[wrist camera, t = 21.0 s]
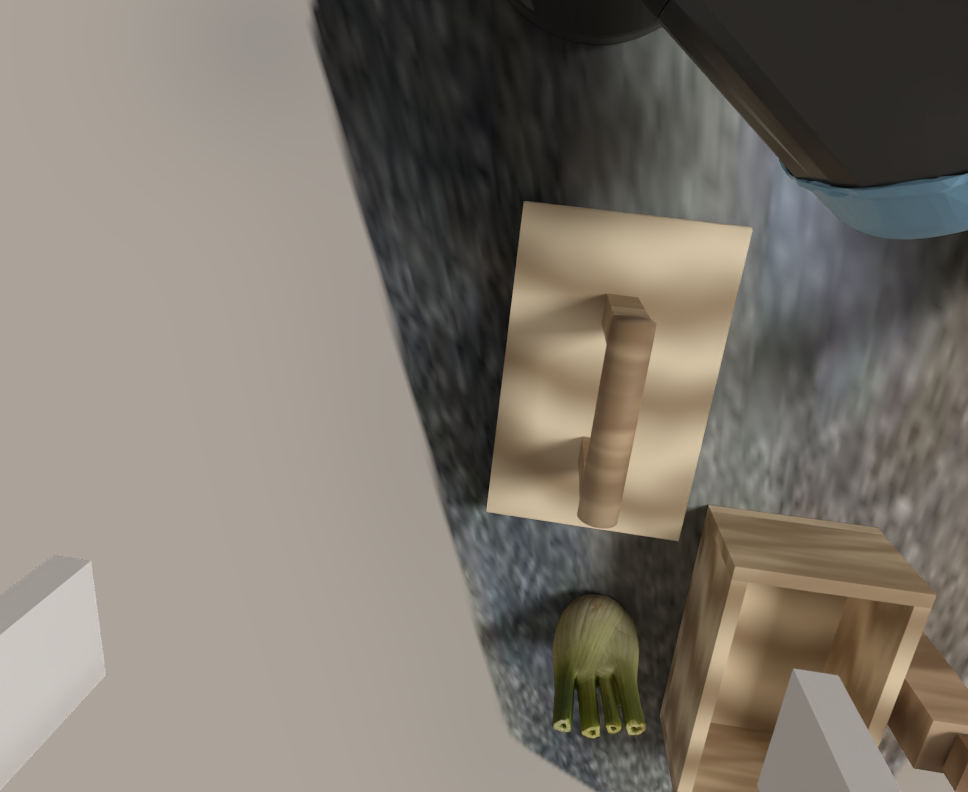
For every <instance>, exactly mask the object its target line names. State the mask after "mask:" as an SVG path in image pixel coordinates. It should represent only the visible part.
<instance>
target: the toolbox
mask: <svg viewBox="0 0 968 792" xmlns="http://www.w3.org/2000/svg"><path fill="white" fill-rule="evenodd" d="M936 596H937V595H936V594H935V593H934V591H933V590H932V589H931V588H930V587H929V586H928V585H927V584H926V582H925V581H924V580H923V579H922V578H921V577H920V576H919V575H918V573H917V572H916V571H915V570H914V569H913V568H912V567H911V565H910V564H909V563H908V562H907V561H906V560H905V559H904V558H903V556H902V555H901V554H900V553H899V552H898V551H897V550H896V548H895V547H894V546H893V545H892V544H891V543H890V542H889V541H888V539H887V538H886V537H885V536H884V535H883V534H882V533H881V531H880V530H879V529H878V528H876V527H868V526H861V525H854V524H846V523H839V522H831V521H824V520H817V519H809V518H802V517H794V516H787V515H779V514H772V513H765V512H757V511H750V510H742V509H735V508H728V507H720V506H713V505H708V509H707V513H706V518H705V522H704V526H703V531H702V535H701V539H700V543H699V548H698V552H697V556H696V561H695V565H694V569H693V574H692V578H691V582H690V586H689V591H688V595H687V599H686V604H685V608H684V612H683V617H682V621H681V625H680V629H679V634H678V638H677V642H676V647H675V651H674V655H673V660H672V664H671V668H670V673H669V677H668V681H667V685H666V690H665V694H664V698H663V703H662V707H661V711H660V720H661V725H662V731H663V737H664V742H665V748H666V754H667V760H668V765H669V771H670V777H671V782H672V788H673V792H759V789H758V786H757V783H758V780H759V777H760V774H761V770H762V767H763V764H764V761H765V758H766V754H767V751H768V748H769V745H770V741H771V738H772V735H773V732H774V729H775V725H776V722H777V719H778V716H779V713H780V709H781V706H782V703H783V700H784V697H785V693H786V690H787V687H788V684H789V680H790V677H791V674H792V671H793V669H800V670H806V671H813V672H819V673H826V674H832V675H838V676H839V678H840V679H841V681H842V683H843V685H844V687H845V689H846V690H847V692H848V694H849V696H850V698H851V700H852V701H853V703H854V705H855V707H856V709H857V711H858V712H859V714H860V716H861V718H862V720H863V722H864V723H865V725H866V727H867V729H868V731H869V733H870V734H871V736H872V738H873V740H874V742H875V744H876V745H877V747H878V746H879V744H880V741H881V738H882V736H883V733H884V731H885V728H886V725H887V724H888V725H889V727H890V729H891V731H892V732H893V734H894V736H895V737H896V739H897V741H898V743H899V744H900V746H901V748H902V749H903V751H904V753H905V754H906V756H907V758H908V760H909V761H910V763H911V764H912V766H913V768H915V769H921V770H928V771H933V772H939V773H943V771H942V769H943V767H944V764H945V762H946V760H947V757H948V755H949V753H950V750H951V748H952V746H953V744H954V741H955V739H956V737H957V734H959V735H966V736H968V688H967V687H966V686H965V685H964V683H963V682H962V681H961V679H960V678H959V677H958V676H957V674H956V673H955V672H954V670H953V669H952V668H951V667H950V665H949V664H948V663H947V662H946V660H945V659H944V658H943V656H942V655H941V654H940V653H939V651H938V650H937V649H936V647H935V646H934V645H933V644H932V642H931V641H930V640H929V639H928V637H927V636H926V635H925V633H924V632H923V629H924V627H925V624H926V622H927V619H928V616H929V614H930V611H931V609H932V606H933V603H934V601H935V598H936Z"/></svg>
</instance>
